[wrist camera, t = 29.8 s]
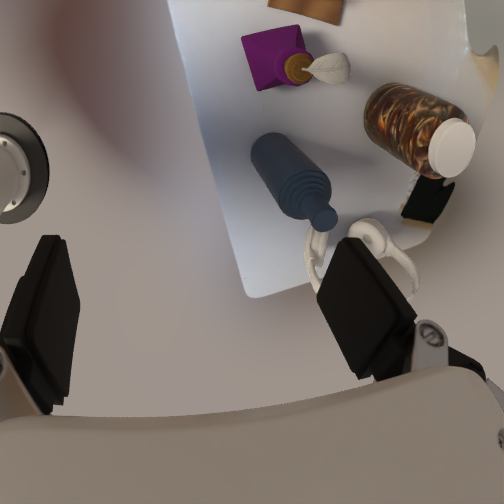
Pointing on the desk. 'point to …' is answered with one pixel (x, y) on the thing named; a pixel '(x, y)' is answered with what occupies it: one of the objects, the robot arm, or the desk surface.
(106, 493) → the robot arm
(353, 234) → the headphones
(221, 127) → the desk surface
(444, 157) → the jar
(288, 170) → the water bottle
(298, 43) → the perfume bottle
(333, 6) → the coaster
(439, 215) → the desk surface
